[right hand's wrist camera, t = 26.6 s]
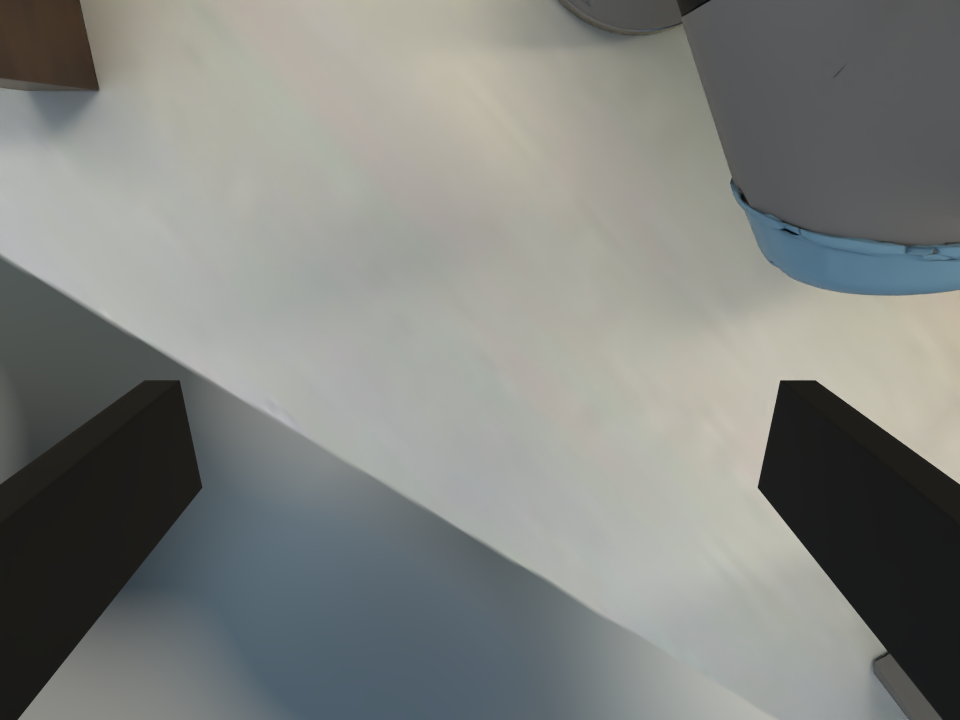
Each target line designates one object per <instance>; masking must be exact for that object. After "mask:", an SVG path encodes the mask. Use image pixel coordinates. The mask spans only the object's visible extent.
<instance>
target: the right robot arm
mask: <svg viewBox="0 0 960 720" xmlns="http://www.w3.org/2000/svg"><path fill="white" fill-rule="evenodd" d="M558 1H559V2H560V3H561V4H562V5H563V6H564V7H565V8H566V9H568V10H569V11H570V12H571V13H572V14H574V15H575V16H577V17H578V18H579V19H581V20H583V21H584V22H586V23H588V24H590V25H592V26H594V27H597V28H599V29H602V30H605V31H608V32H612V33H618V34H623V35H647V34H653V33H659V32H662V31H666V30H669V29H672V28H675V27H677V26H680V25H682V24H683V26H684V29H685V32H686V35H687V38H688V42H689V45H690V48H691V51H692V54H693V57H694V60H695V63H696V67H697V70H698V73H699V76H700V79H701V82H702V85H703V88H704V91H705V95H706V98H707V101H708V104H709V107H710V110H711V113H712V116H713V119H714V123H715V126H716V129H717V132H718V135H719V138H720V141H721V144H722V147H723V151H724V154H725V157H726V160H727V163H728V166H729V169H730V172H731V175H732V179H731V183H730V185H731V188H732V192H733V195H734V197H735V199H736V201H737V202H738V204H739V205H740V206H741V207H742V208H743V209H744V210H745V212H746V215H747V217H748V220H749V223H750V225H751V228H752V230H753V233H754V236H755V238H756V241H757V244H758V246H759V248H760V250H761V252H762V253H763V255H764V256H765V257H766V259H767V260H768V261H769V262H770V263H771V264H772V265H774V266H776V267H778V268H780V270H781V271H782V272H784V273H786V274H787V275H788V276H789V277H791V278H793V279H794V280H797V281H799V282H802V283H805V284H808V285H811V286H814V287H818V288H821V289H826V290H830V291H836V292H842V293H850V294H861V295H895V296H898V295H917V294H931V293H940V292H948V291H955V290H960V0H558ZM201 488H202V484H201V479H200V475H199V470H198V465H197V460H196V456H195V451H194V446H193V441H192V437H191V432H190V427H189V423H188V418H187V413H186V409H185V404H184V399H183V394H182V390H181V385H180V381H179V380H145V381H143V382H142V383H140V384H139V385H138V386H136V387H135V388H133V389H132V390H131V391H129V392H128V393H126V394H125V395H124V396H122V397H121V398H120V399H118V400H117V401H115V402H114V403H113V404H111V405H110V406H108V407H107V408H106V409H104V410H103V411H102V412H100V413H99V414H97V415H96V416H95V417H93V418H92V419H90V420H89V421H88V422H86V423H85V424H84V425H82V426H81V427H79V428H78V429H77V430H75V431H74V432H72V433H71V434H70V435H68V436H67V437H66V438H64V439H63V440H61V441H60V442H59V443H57V444H56V445H54V446H53V447H52V448H50V449H49V450H47V451H46V452H45V453H43V454H42V455H41V456H39V457H38V458H36V459H35V460H34V461H32V462H31V463H29V464H28V465H27V466H25V467H24V468H23V469H21V470H20V471H18V472H17V473H16V474H14V475H13V476H11V477H10V478H9V479H7V480H6V481H4V482H3V483H2V484H0V720H18V718H19V717H20V716H21V715H22V713H23V712H24V711H25V710H26V708H27V707H28V706H29V705H30V703H31V702H32V701H33V700H34V698H35V697H36V696H37V695H38V693H39V692H40V691H41V690H42V688H43V687H44V686H45V685H46V683H47V682H48V681H49V680H50V678H51V677H52V676H53V675H54V673H55V672H56V671H57V669H58V668H59V667H60V666H61V664H62V663H63V662H64V661H65V659H66V658H67V657H68V656H69V654H70V653H71V652H72V651H73V649H74V648H75V647H76V646H77V644H78V643H79V642H80V641H81V639H82V638H83V637H84V636H85V634H86V633H87V632H88V630H89V629H90V628H91V627H92V625H93V624H94V623H95V622H96V620H97V619H98V618H99V617H100V615H101V614H102V613H103V612H104V610H105V609H106V608H107V607H108V605H109V604H110V603H111V602H112V600H113V599H114V598H115V597H116V595H117V594H118V593H119V592H120V590H121V589H122V588H123V587H124V585H125V584H126V583H127V582H128V580H129V579H130V578H131V576H132V575H133V574H134V573H135V571H136V570H137V569H138V568H139V566H140V565H141V564H142V563H143V561H144V560H145V559H146V558H147V556H148V555H149V554H150V553H151V551H152V550H153V549H154V547H155V546H156V545H157V544H158V543H159V541H160V540H161V539H162V537H163V536H164V535H165V534H166V532H167V531H168V530H169V529H170V527H171V526H172V525H173V524H174V522H175V521H176V520H177V519H178V517H179V516H180V515H181V514H182V512H183V511H184V510H185V509H186V507H187V506H188V505H189V504H190V502H191V501H192V500H193V499H194V497H195V496H196V495H197V494H198V492H199V491H200V490H201ZM758 489H759V490H760V491H761V492H762V494H763V495H764V496H765V497H766V499H767V500H768V501H769V502H770V504H771V505H772V506H773V507H774V509H775V510H776V511H777V512H778V514H779V515H780V516H781V517H782V519H783V520H784V521H785V522H786V524H787V525H788V526H789V527H790V529H791V530H792V531H793V532H794V534H795V535H796V536H797V538H798V539H799V540H800V541H801V543H802V544H803V545H804V546H805V548H806V549H807V550H808V551H809V553H810V554H811V555H812V556H813V558H814V559H815V560H816V561H817V563H818V564H819V565H820V566H821V568H822V569H823V570H824V571H825V573H826V574H827V575H828V576H829V578H830V579H831V580H832V582H833V583H834V584H835V585H836V587H837V588H838V589H839V590H840V592H841V593H842V594H843V595H844V597H845V598H846V599H847V600H848V602H849V603H850V604H851V605H852V607H853V608H854V609H855V610H856V612H857V613H858V614H859V615H860V617H861V618H862V619H863V620H864V622H865V623H866V624H867V625H868V627H869V628H870V629H871V631H872V632H873V633H874V634H875V636H876V637H877V638H878V639H879V641H880V642H881V643H882V644H883V646H884V647H885V648H886V649H887V651H888V652H889V653H890V654H891V656H892V657H893V658H894V659H895V661H896V662H897V663H898V664H899V666H900V667H901V668H902V669H903V671H904V672H905V673H906V675H907V676H908V677H909V678H910V680H911V681H912V682H913V683H914V685H915V686H916V687H917V688H918V690H919V691H920V692H921V693H922V695H923V696H924V697H925V698H926V700H927V701H928V702H929V703H930V705H931V706H932V707H933V708H934V710H935V711H936V712H937V713H938V715H939V716H940V717H941V719H942V720H960V484H958V483H957V482H956V481H954V480H953V479H951V478H950V477H949V476H947V475H946V474H944V473H943V472H942V471H940V470H939V469H937V468H936V467H935V466H933V465H932V464H931V463H929V462H928V461H926V460H925V459H924V458H922V457H921V456H919V455H918V454H917V453H915V452H914V451H913V450H911V449H910V448H908V447H907V446H906V445H904V444H903V443H901V442H900V441H899V440H897V439H896V438H895V437H893V436H892V435H890V434H889V433H888V432H886V431H885V430H883V429H882V428H881V427H879V426H878V425H876V424H875V423H874V422H872V421H871V420H870V419H868V418H867V417H865V416H864V415H863V414H861V413H860V412H858V411H857V410H856V409H854V408H853V407H852V406H850V405H849V404H847V403H846V402H845V401H843V400H842V399H840V398H839V397H838V396H836V395H835V394H834V393H832V392H831V391H829V390H828V389H827V388H825V387H824V386H822V385H821V384H820V383H818V382H817V381H815V380H780V385H779V389H778V394H777V399H776V404H775V408H774V413H773V418H772V423H771V427H770V432H769V437H768V441H767V446H766V451H765V456H764V460H763V465H762V470H761V475H760V479H759V484H758Z"/></svg>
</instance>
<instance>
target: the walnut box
mask: <svg viewBox="0 0 960 720" xmlns="http://www.w3.org/2000/svg"><path fill="white" fill-rule="evenodd" d="M0 88H5V89H14V90H23V91H98V90H99V89H98V84H97V80H96V75H95V71H94V66H93V62H92V57H91V52H90V48H89V43H88V39H87V34H86V30H85V25H84V21H83V16H82V12H81V7H80V3H79V0H0Z"/></svg>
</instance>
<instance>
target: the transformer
mask: <svg viewBox="0 0 960 720" xmlns="http://www.w3.org/2000/svg"><path fill="white" fill-rule="evenodd" d="M874 674H875V675H876V676H877V678H878V679H879V680H880V682H881V683H882V684H883V686H884V687H885V688H886V690H887V691H888V692H889V694H890V695H891V696H892V698H893V699H894V700H895V702H896V703H897V704H898V706H899V707H900V708H901V710H902V711H903V712H904V714H905V715H906V716H907V718H908V719H909V720H942V719H941V717H940V716H939V715H938V713H937V712H936V711H935V710H934V708H933V707H932V706H931V705H930V703H929V702H928V701H927V700H926V698H925V697H924V696H923V695H922V693H921V692H920V691H919V690H918V688H917V687H916V686H915V685H914V683H913V682H912V681H911V680H910V678H909V677H908V676H907V675H906V673H905V672H904V671H903V669H902V668H901V667H900V666H899V664H898V663H897V662H896V661H895V659H894V658H893V657H892V656H891V654H888V655H887V656H885V657H883V658H881V659H879V660H877V661H875V662H874Z"/></svg>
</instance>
